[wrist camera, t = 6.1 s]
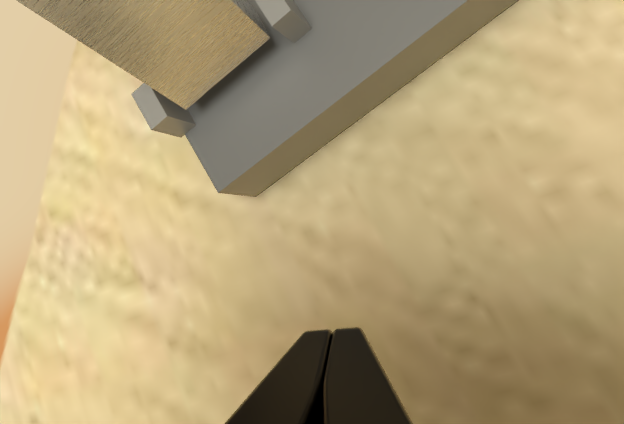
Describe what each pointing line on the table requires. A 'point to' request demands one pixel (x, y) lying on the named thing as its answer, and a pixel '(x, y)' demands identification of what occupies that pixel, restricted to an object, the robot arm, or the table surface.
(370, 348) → the robot arm
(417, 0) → the switch box
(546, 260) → the table surface
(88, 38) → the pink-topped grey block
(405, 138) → the table surface
